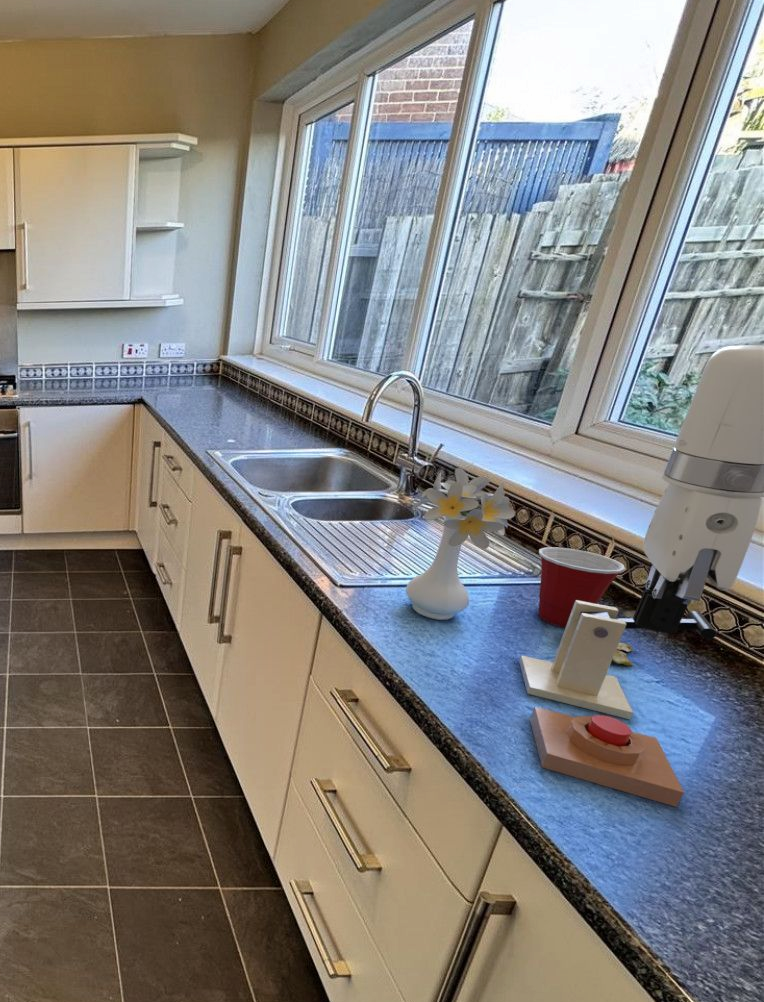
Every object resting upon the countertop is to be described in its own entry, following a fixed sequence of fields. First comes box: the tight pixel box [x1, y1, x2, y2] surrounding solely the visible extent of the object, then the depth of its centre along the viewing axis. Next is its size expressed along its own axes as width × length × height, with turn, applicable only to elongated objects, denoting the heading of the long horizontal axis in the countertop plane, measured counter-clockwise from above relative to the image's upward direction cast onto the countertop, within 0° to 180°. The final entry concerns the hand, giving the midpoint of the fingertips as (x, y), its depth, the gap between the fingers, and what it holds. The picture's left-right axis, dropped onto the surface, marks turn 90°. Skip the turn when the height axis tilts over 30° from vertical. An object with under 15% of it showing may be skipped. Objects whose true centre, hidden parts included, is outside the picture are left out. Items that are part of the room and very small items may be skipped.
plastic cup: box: [538, 546, 626, 629], centre depth 104 cm, size 11×11×12 cm
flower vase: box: [405, 467, 516, 621], centre depth 104 cm, size 13×18×25 cm
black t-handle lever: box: [580, 610, 718, 640], centre depth 82 cm, size 12×5×2 cm, turn 59°
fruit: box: [612, 641, 634, 666], centre depth 97 cm, size 8×8×4 cm
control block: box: [529, 706, 685, 808], centre depth 75 cm, size 12×10×4 cm
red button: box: [587, 714, 633, 746], centre depth 75 cm, size 4×4×2 cm
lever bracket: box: [518, 600, 634, 720], centre depth 86 cm, size 11×9×13 cm
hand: (652, 627), depth 69 cm, fingers closed
